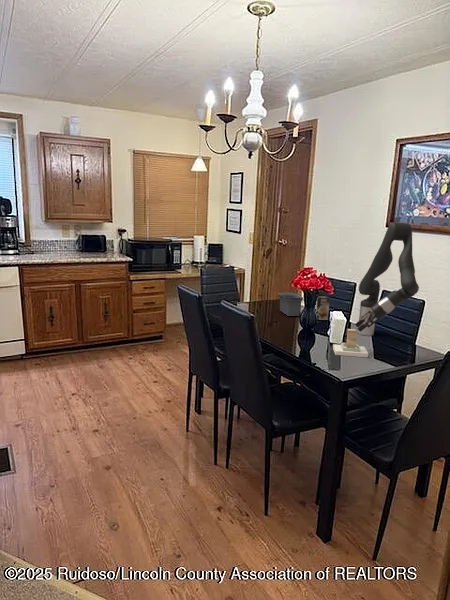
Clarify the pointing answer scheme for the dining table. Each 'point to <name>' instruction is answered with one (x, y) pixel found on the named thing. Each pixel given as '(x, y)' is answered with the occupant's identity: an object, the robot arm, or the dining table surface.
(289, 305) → the storage bin
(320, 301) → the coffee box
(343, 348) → the socket base
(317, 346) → the dining table surface
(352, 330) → the birch pillar block
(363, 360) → the dining table surface
